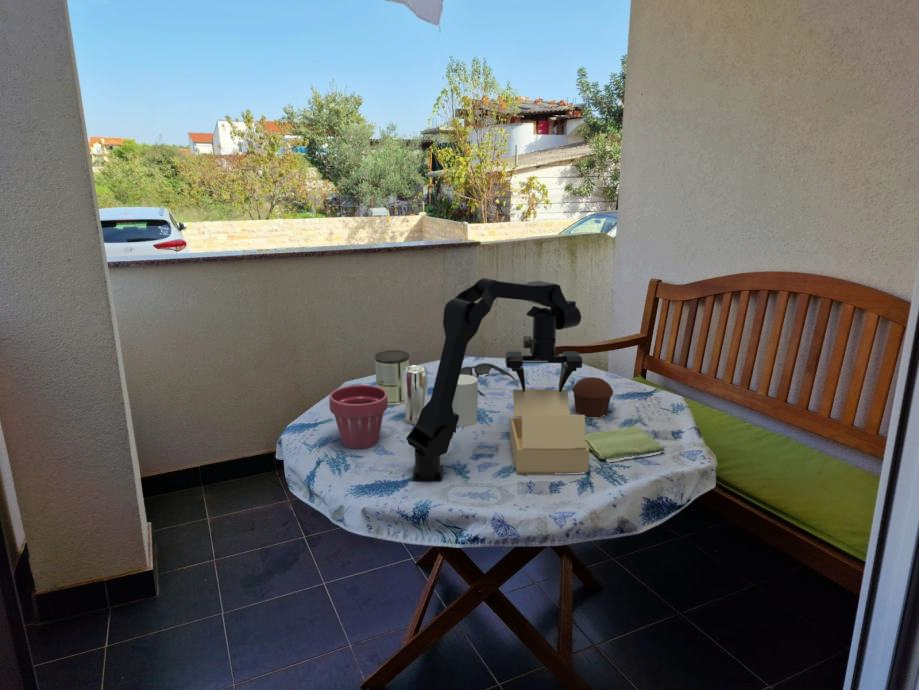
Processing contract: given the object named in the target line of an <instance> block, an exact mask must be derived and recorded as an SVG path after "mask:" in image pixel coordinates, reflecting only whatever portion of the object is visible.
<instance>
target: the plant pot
mask: <svg viewBox="0 0 919 690" xmlns="http://www.w3.org/2000/svg"><path fill="white" fill-rule="evenodd" d="M388 406H389V405H388V397H387V392H386V391H385V390H384V389H382V388H380V387H376V385H370V384H356V385H355V384H354V385H346V386H344V387H343V386H342V387H339V388H336V389H335V390H333V391H332V392H330V394H329V410H330V413H332V414H333V415H334V418H335V423H336V425H337V429H338V431H339V435H340V438H341V439H340V440H341V442H342V444H343V446H345V447H347V448H349V449H355V448H356V449H357V450H358V449H359V450H360V449H365V448H370V447H372V446H374V445H376V444H377V443H378V441H379V438H380V432H381V428H382V422H383V420H384V419H383V418H384V413H385V412H386V410H387V409H388Z"/></svg>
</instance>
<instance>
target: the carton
mask: <svg viewBox="0 0 919 690" xmlns="http://www.w3.org/2000/svg"><path fill="white" fill-rule="evenodd" d="M509 418H510V420H509V442H510V447H511V452H512V457H513V462H514V467H515V472H516V475H556V474H555V473H558V474H557V475H560V474H559V473H580V472H581V473H582V472H588V473H589V466H590V465H589V462H590V451H591V450H589V448H588V446H587V444H586V442H585V448H522V417H509Z"/></svg>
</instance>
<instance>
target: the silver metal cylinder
mask: <svg viewBox="0 0 919 690" xmlns="http://www.w3.org/2000/svg"><path fill="white" fill-rule="evenodd" d="M402 370H403V373H402V389H403V395H404V400H405V403H404V405H405V414H404V415H405V416H404V422H405V423H406V424H408V425H414V426H415V425H416V424H417V421H418V418H419V416H420V413H421V411H422V409H423V408H424V407H425V406H426V402H427V397H428V387H429V382H428V380H429V379H428V378H429V377H428V369H427V367H426V366H423V365H421V364H419V365H413V364H411V365H409V366H406V367H404V368H403V369H402Z"/></svg>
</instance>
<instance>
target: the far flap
mask: <svg viewBox="0 0 919 690" xmlns="http://www.w3.org/2000/svg"><path fill="white" fill-rule="evenodd" d="M568 392H569V391H568V389H562V391H561V392H559V389H525V392H523V390H522V389H512V395H513V396H512V397H513V416H514V417H513V418H522V415H571V413H570V412H571V411H570V403H569V400H570V399H569V393H568Z"/></svg>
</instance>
